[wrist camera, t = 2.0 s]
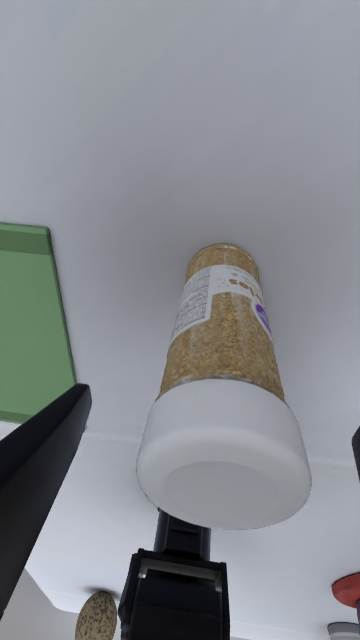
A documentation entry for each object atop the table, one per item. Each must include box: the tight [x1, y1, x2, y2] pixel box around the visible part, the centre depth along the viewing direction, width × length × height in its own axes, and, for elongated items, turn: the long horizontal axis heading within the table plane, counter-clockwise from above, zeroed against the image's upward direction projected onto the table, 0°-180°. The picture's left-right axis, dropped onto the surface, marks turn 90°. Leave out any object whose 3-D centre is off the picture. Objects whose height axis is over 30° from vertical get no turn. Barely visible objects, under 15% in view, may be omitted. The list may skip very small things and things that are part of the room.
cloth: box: [0, 223, 85, 432], centre depth 24 cm, size 20×11×1 cm, turn 176°
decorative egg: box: [75, 592, 117, 640], centre depth 53 cm, size 7×7×10 cm
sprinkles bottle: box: [136, 244, 312, 530], centre depth 13 cm, size 5×5×13 cm
